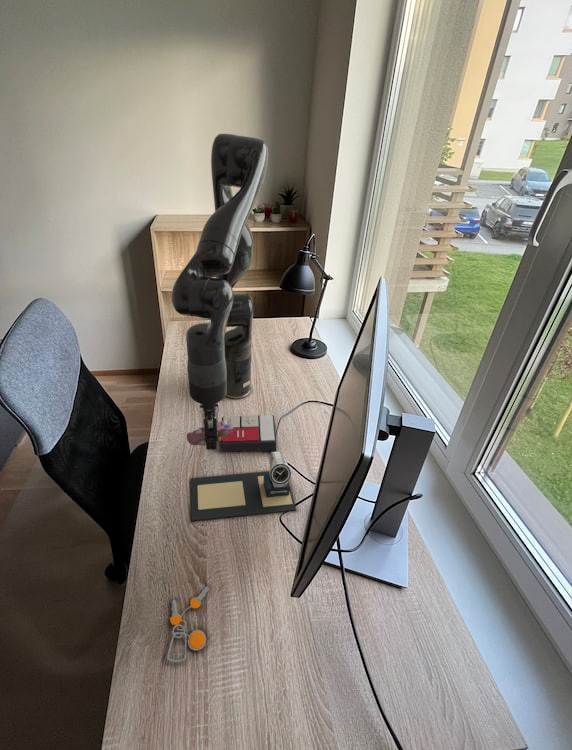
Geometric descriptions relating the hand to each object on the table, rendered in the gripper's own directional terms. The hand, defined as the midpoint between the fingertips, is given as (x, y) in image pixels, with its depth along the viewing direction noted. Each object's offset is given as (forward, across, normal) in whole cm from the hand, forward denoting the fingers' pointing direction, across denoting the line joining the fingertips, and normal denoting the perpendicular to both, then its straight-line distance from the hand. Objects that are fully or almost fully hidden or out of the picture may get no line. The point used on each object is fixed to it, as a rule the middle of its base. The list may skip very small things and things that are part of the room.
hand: (210, 435), depth 88 cm
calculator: (+18, +16, -11) cm, 26 cm away
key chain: (+18, -30, +6) cm, 35 cm away
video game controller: (+2, 0, 0) cm, 2 cm away
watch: (+17, -3, -15) cm, 23 cm away
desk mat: (+18, -3, -7) cm, 19 cm away
